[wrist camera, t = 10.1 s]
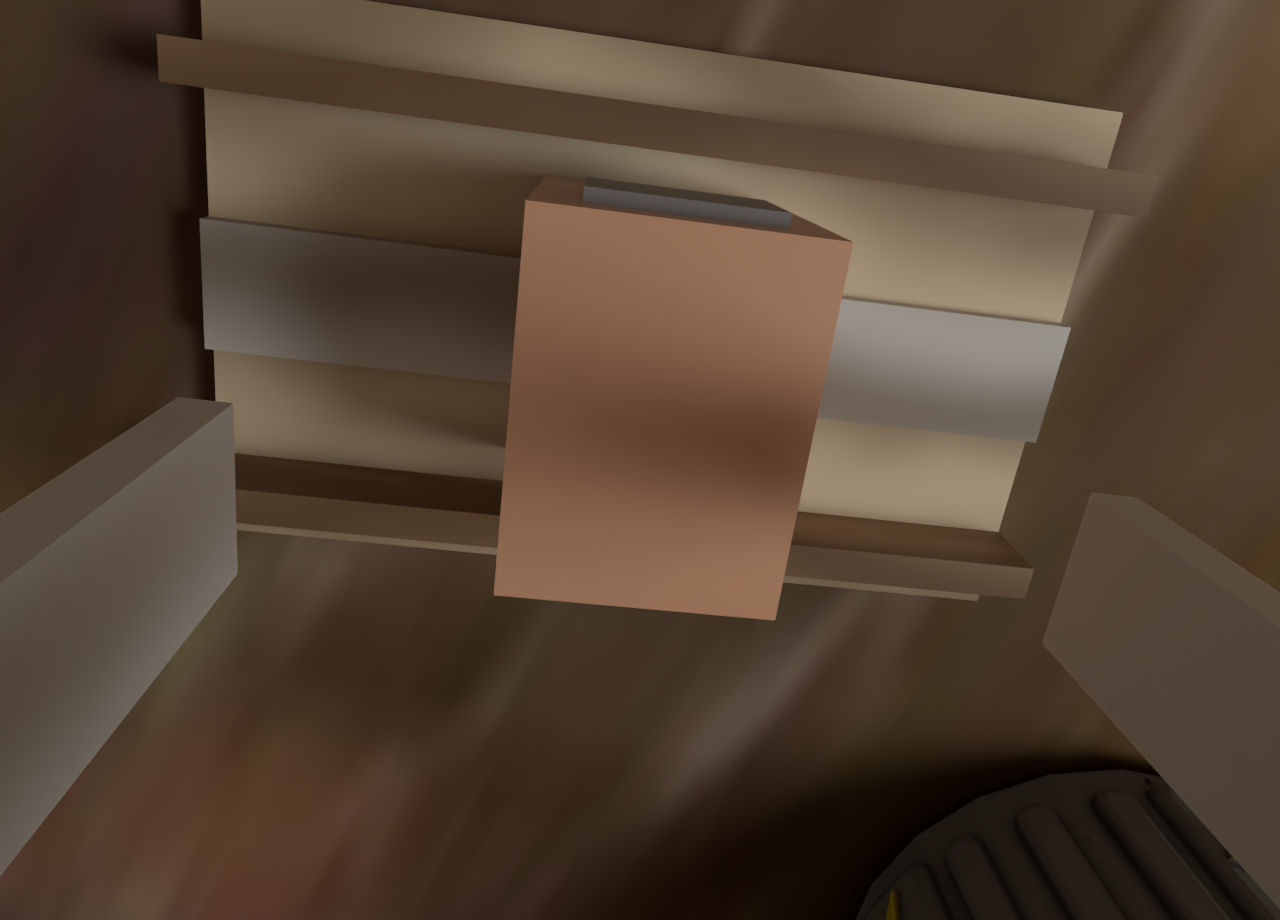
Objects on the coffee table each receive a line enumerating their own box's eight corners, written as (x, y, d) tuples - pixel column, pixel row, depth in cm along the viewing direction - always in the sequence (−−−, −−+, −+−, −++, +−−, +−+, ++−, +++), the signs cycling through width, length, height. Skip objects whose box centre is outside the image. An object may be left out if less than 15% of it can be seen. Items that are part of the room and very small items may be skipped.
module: (724, 480, 27) (774, 620, 19) (523, 458, 26) (493, 595, 19) (775, 192, 24) (856, 225, 16) (549, 162, 23) (527, 182, 16)
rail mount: (963, 583, 30) (1010, 642, 27) (235, 512, 28) (184, 566, 25) (1100, 113, 25) (1180, 111, 22) (219, -18, 23) (152, -42, 20)
